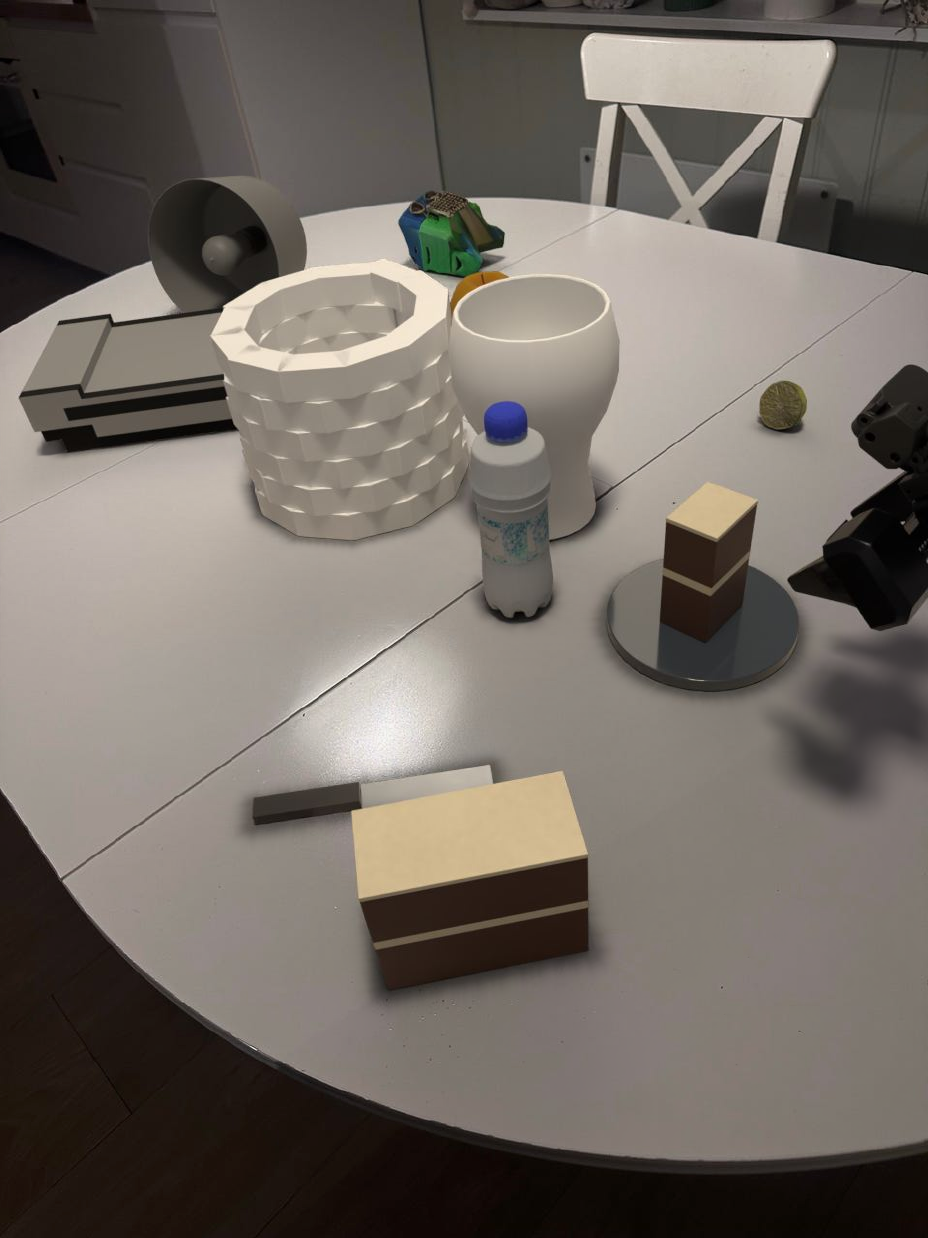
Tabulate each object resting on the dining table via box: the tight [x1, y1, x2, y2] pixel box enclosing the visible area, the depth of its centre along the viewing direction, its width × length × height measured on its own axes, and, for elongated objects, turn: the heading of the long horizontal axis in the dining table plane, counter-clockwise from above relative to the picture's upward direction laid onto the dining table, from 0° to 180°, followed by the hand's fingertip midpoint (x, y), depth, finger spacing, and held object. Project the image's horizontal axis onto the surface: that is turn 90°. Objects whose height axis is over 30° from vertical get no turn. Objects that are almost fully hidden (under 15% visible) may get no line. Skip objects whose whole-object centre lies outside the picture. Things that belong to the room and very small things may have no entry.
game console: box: [18, 308, 238, 453], centre depth 116 cm, size 21×32×8 cm, turn 96°
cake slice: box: [660, 481, 759, 643], centre depth 75 cm, size 4×6×11 cm
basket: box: [210, 258, 470, 541], centre depth 96 cm, size 25×24×19 cm
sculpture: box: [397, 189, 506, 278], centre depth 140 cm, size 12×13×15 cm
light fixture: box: [147, 175, 308, 313], centre depth 137 cm, size 20×25×27 cm
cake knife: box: [251, 764, 495, 825], centre depth 69 cm, size 18×2×1 cm, turn 96°
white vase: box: [449, 273, 621, 541], centre depth 87 cm, size 15×15×22 cm
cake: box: [350, 770, 590, 991], centre depth 57 cm, size 13×6×11 cm, turn 99°
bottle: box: [468, 401, 554, 618], centre depth 77 cm, size 7×7×20 cm
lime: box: [758, 380, 808, 431], centre depth 100 cm, size 4×5×5 cm
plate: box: [606, 558, 800, 692], centre depth 79 cm, size 16×16×1 cm
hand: (823, 549), depth 65 cm, fingers open, 9 cm apart
